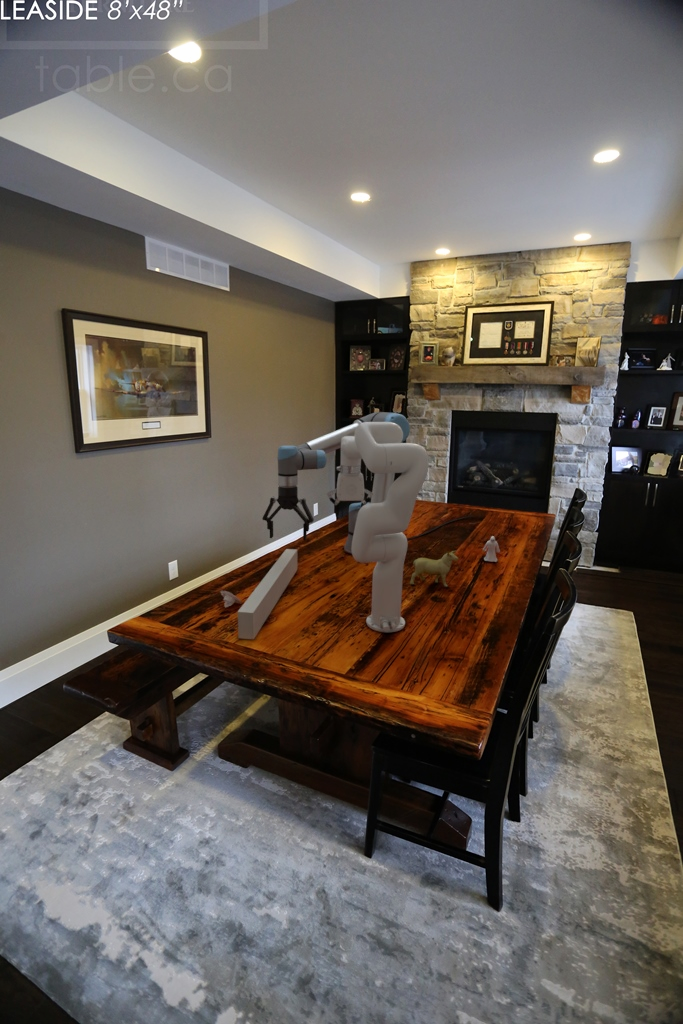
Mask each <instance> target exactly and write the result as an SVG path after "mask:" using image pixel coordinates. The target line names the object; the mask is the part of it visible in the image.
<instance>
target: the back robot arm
mask: <svg viewBox="0 0 683 1024" xmlns="http://www.w3.org/2000/svg"><path fill="white" fill-rule="evenodd" d="M363 422H392V423H395V424H397V425H398V426H400V428H401V429H402V431H403V439H402V442H401V443H404V442H405V441H407V439H408V438H409V436H410V432H411V425H410V422H409V420H408V419H407V418H406V416H405V415H403V414H401V413H398V412H387V411H386V412H385V411H376V412H373V413H370V414H367V415H364V416H363V417H360V418H358V419H356V420H354V421H353V422H352V424H349V425H346V426H344V427H341V428H339V429H337V430H334V431H332V432H329V433H327V434H324V435H321V436H319V437H317V438H314V439H312V440H309V441H307V442H304V443H302V444H301V443H300V444H299V445H280V446H279V447H278V449H277V485H278V487H277V497H275V496H272V497H270V499H269V504H268V506H267V507H266V510H265V512H264V514H263V516H262V521H265V522H266V529H267V530H268V531H269V539H273V537H274V520H273V519H274V518H275V516H276V515H277V514H278V513H279V511H281V510H283V511H285V510H288V511H292V510H293V511H294V512H295V513H296V514H297V515H298V516H299V518H300V519H301V520H302V521H303V522H304V523H303V524H302V525H303V527H302V529H303V531H302V534H303V536H302V537H303V538H302V539H303V540H302V541H306V540H307V537H308V535H307V533H308V532H309V531H310V524H311V523H313V522H314V520H315V519H314V517H313V514H312V513H311V511H310V508H309V506H308V505H307V499H306V498H305V497H303V498H299V496H298V494H299V493H298V492H299V491H298V481H299V480H298V473H299V472H298V471H305V470H319V469H324V468H325V467H326V465H327V461H328V460H327V459H328V458H327V454H329V453H331V452H334V451H336V450H338V449H339V450H340V449H341V439H342V438H343V437H344V436H354V435H355V431H356V428H357V427H358V425H360V424H361V423H363ZM373 475H374V476H373V483H372V484H373V485H372V490H371V492H372V493H373V495H372V497H371V499H370V501H369V502H368V503H367V504H370V503H382V502H384V501H385V500H386V497H387V493H388V490H389V488H390V486H391V485H392V484H393V482H394V481H395V475H396V473H382V474H377V473H374V474H373ZM276 502H277V504H278V506H277V508H275V510H274V511H273V512H272V513H271V514H270V512H271V511H272V508H273V506H274V504H276ZM361 503H362V502H354V503H351V504H350V505H349V507H348V533H347V538H346V539H345V544H344V547H343V551H344V553H346V554H348V555H351V556H353V555H352V539H353V534H354V530H355V525H356V520H357V515H358V512H359V510H360V509H361ZM298 504H300V505H301V506H302V509H303V511H304V512H303V511H302V509H301V508H300V507H299V505H298ZM304 513H305V514H304ZM269 515H270V516H269ZM468 518H472V520H473V519H474V520H475V516H472V515H468V516H464V517H459V518H456V519H451V520H449V521H447V522H445V523H442V524H440V525H438V526H436V527H434V528H432V529H430V530H427V531H426V532H424V533H421V534H418V535H415V536H411V537H408V538H407V537H406V538H407V541H409V540H412V539H416V538H418V537H422V536H424V535H427V534H429V533H432V532H433V531H435V530H437V529H439V528H441V527H443V526H445V525H447V524H450V523H454V522H456V521H459V520H465V519H468Z"/></svg>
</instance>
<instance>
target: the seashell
mask: <svg viewBox="0 0 683 1024" xmlns="http://www.w3.org/2000/svg"><path fill="white" fill-rule="evenodd" d="M219 593H220V596H222V598H223V599H222V601H223V602H224V605H223V607H224V608H225V609H227V608H229V607H231V606H232V605H234V604H235V603H236V604H240V605H241V604H242V599H241V598H239V597H238V596H236V595H235V594H233V592H231V591H227V590H220V591H219Z"/></svg>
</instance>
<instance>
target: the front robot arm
mask: <svg viewBox="0 0 683 1024" xmlns="http://www.w3.org/2000/svg"><path fill="white" fill-rule="evenodd" d="M402 439H403V431H402V429H401V428H400V426H398V425H397V424H395V423H392V422H363V423H361V424H360V425H358V427H357V428H356V431H355V435H354V436H344V437H343V438H342V439H341V448H340V465H339V466H336V471H339V473H338V474H337V481H336V488H333V489H332V490H330V491H328V492H327V493H326V495H327V497H328V499H329V501H330V502H331V503H332V504H333V513H334V514H335V516H337V517H338V516H339V513H340V511H339V510H340V508H339V507H340V506H339V504H340V502H360V503H361V509H360V510H359V512H358V515H357V520H356V525H355V530H354V534H353V539H352V555H351V556H352V558H353V559H354V560H355V562H357V563H359V564H369V563H376V564H375V566H374V568H373V571H372V585H371V586H372V587H371V607H370V609H371V613H370V615H368V616H367V617H366V621H365V622H366V623H365V624H366V625H367V627H368V628H369V629H372V630H373V631H376V632H379V633H396V632H398V631H402V630H403V629H404V628H405V626H406V620H405V618H403V617H402V615H401V614H402V599H403V598H402V597H403V580H404V567H405V559H406V557H407V552H408V545H409V544H408V540H407V536H406V535H405V533H404V532H405V531H406V530H408V528H409V525H410V523H411V519H412V515H413V512H414V508H415V505H416V501H417V499H418V495H419V493H420V490H421V489H422V487H423V485H424V483H425V481H426V478H427V476H428V471H429V462H430V461H429V456H428V455H429V454H428V452H427V450H426V448H425V447H423V446H422V445H420V444H418V443H411V442H403V443H401V442H402ZM362 461H363V463H364V465H365V466H366V468H367V470H368V471H370V472H371V473H373V474H375V473H377V474H382V473H395V474H400V475H399V476H398V477H397V478H396V479H394V482H393V484H392V485H391V486H390V488H389V490H388V493H387V497H386V500H385V501H384V502H382V503H371V498H372V495H373V493H372V491H371V490H368V489H367V488H365V479H364V478H365V477H364V474H363V473H362V471H361V470H362ZM365 494H366V495H367V496H366V497H365ZM333 495H336V498H335V499H334V498H333ZM368 502H369V503H370V504H367V503H368Z"/></svg>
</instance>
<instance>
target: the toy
mask: <svg viewBox="0 0 683 1024" xmlns="http://www.w3.org/2000/svg"><path fill="white" fill-rule="evenodd" d="M457 552H458V550H452V551H450V552H446V553H444V555H443V556H442V557H441V558H440V559H431V558H427V557H418V558H417V559H416V558H415V559H414V560H413V568H414V572H412V574H411V578H410V581H409V584H410V585H411V586H415V584H416V583H415V582H414V581H415V578H416V577H417V576H418V577H420V579H421V580H422V582H426V578H425V576H424V575H423V574H426V575H428V576H435V578H434V583H435V584H439V581H438V580H439V578H441V581H442V585H443V587H444V588H446V589H447V588H449V585H448V584H447V582H446V580H447V579H446V577H447V575H448V574H449V572H450V570H451V567H452V563H453V561H454V562H458V561H459V557H458V556H457V555H455V554H456V553H457Z"/></svg>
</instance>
